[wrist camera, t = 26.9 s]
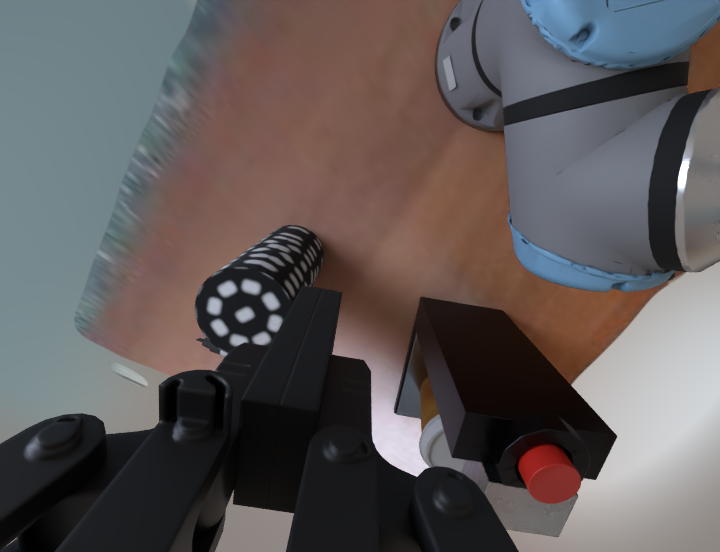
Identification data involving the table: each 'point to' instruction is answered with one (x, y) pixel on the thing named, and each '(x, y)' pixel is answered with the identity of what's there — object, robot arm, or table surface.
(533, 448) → the button
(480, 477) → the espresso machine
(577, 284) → the robot arm
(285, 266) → the spotted tube
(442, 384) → the tower
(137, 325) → the table surface
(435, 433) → the disposable coffee cup
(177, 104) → the table surface
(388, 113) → the table surface
